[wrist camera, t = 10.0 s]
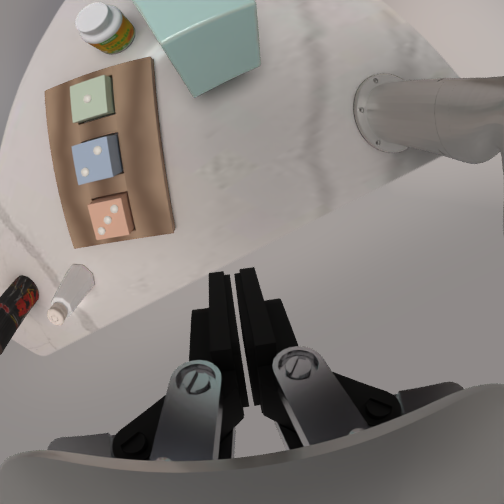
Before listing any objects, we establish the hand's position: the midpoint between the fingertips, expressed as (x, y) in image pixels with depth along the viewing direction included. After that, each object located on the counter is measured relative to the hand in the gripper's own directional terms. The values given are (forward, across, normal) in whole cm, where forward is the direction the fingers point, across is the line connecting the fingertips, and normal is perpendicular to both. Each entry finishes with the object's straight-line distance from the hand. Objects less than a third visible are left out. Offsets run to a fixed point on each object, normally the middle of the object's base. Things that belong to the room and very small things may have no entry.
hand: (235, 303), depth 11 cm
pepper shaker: (+29, +25, +13) cm, 41 cm away
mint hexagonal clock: (+29, +2, -20) cm, 35 cm away
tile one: (+29, +15, -13) cm, 35 cm away
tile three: (+29, +15, +3) cm, 33 cm away
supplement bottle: (+29, +12, -22) cm, 39 cm away
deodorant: (+29, +39, +14) cm, 51 cm away
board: (+29, +15, -5) cm, 33 cm away
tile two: (+28, +15, -5) cm, 32 cm away
